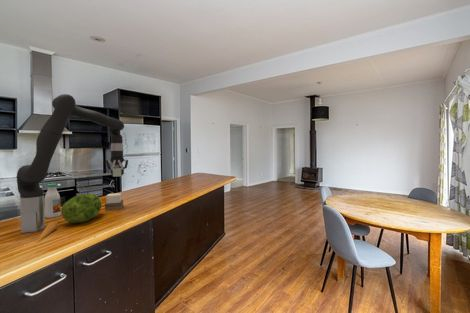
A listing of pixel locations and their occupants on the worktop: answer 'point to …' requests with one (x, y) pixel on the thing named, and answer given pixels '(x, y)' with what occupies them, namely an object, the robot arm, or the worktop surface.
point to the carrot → (48, 230)
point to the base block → (113, 206)
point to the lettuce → (81, 208)
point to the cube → (117, 172)
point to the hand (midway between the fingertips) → (117, 175)
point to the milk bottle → (52, 202)
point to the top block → (114, 198)
